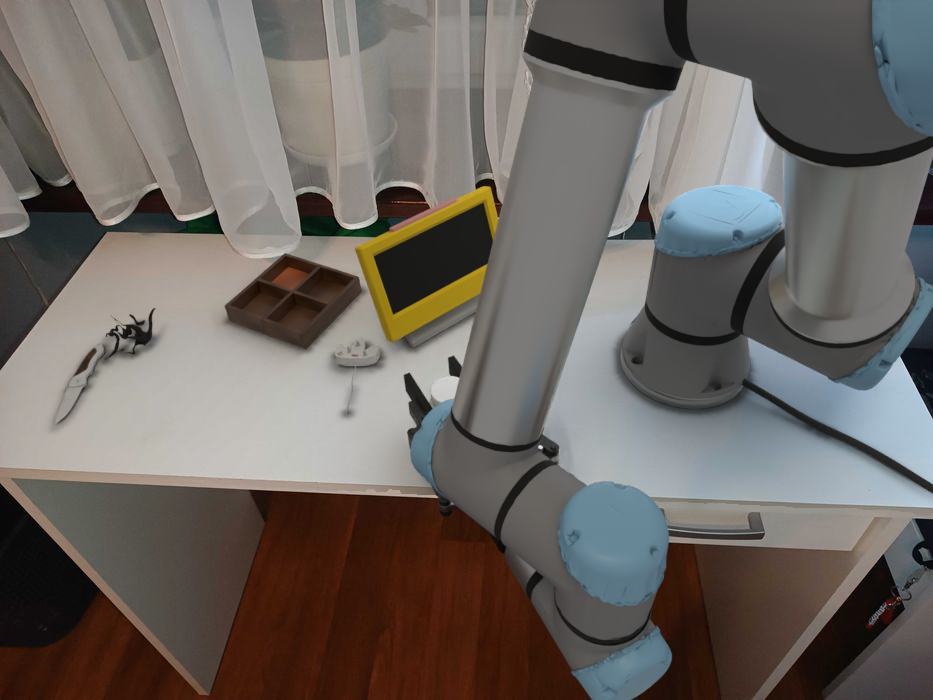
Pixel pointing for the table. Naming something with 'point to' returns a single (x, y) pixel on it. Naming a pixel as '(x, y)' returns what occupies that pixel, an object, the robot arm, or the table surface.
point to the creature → (140, 335)
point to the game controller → (357, 356)
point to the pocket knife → (79, 380)
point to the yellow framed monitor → (430, 266)
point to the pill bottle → (443, 390)
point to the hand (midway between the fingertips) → (429, 373)
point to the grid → (294, 300)
